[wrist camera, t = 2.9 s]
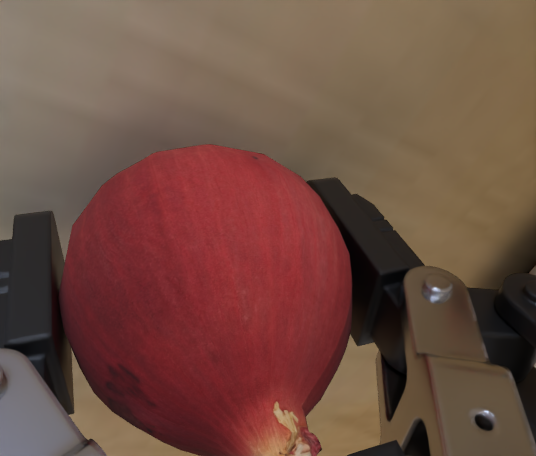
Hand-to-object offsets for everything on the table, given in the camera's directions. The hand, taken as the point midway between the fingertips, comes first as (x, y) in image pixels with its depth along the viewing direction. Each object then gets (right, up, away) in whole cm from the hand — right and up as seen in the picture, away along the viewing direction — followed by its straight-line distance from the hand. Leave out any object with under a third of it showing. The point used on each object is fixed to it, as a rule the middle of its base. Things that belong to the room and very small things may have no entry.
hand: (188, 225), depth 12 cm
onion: (-1, +1, +1) cm, 2 cm away
